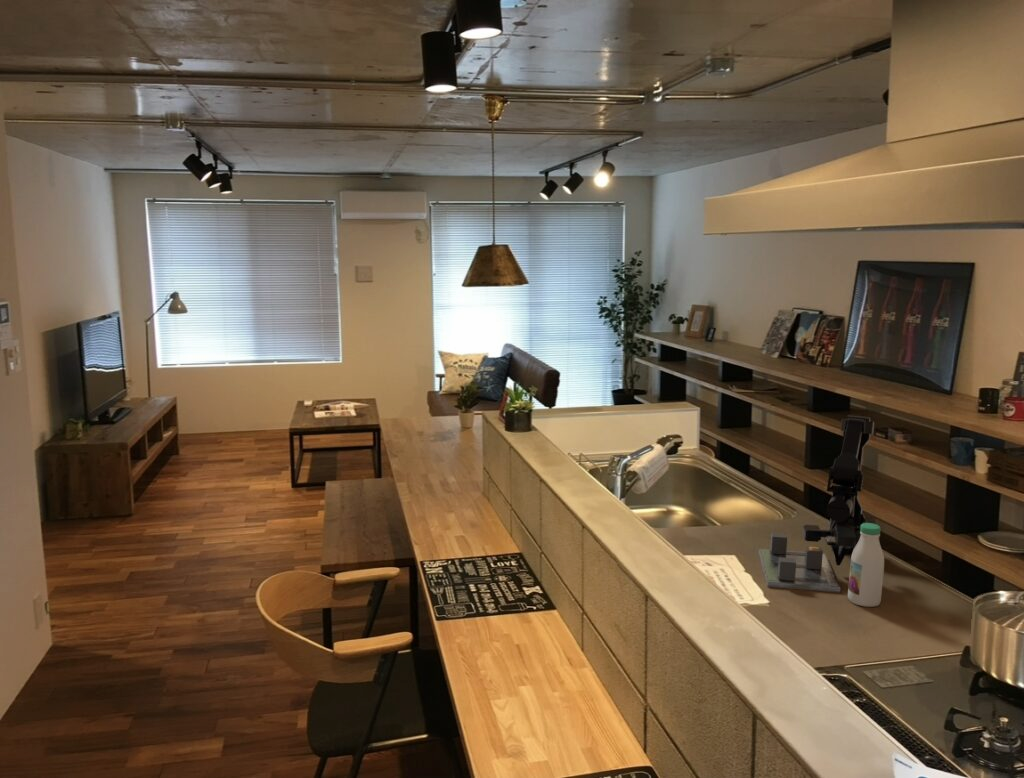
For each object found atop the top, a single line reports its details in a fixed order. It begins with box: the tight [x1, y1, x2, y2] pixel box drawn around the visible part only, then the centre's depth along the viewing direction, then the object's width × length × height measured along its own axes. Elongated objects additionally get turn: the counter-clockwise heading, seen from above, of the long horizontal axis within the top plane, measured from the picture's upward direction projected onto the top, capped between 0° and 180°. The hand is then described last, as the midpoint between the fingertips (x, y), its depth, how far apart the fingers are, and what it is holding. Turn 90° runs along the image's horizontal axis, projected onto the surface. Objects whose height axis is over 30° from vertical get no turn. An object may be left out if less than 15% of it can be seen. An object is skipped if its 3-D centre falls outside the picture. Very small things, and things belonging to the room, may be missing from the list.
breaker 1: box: [769, 532, 788, 554], centre depth 238 cm, size 4×3×5 cm
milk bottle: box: [847, 522, 885, 608], centre depth 209 cm, size 8×8×20 cm
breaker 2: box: [778, 557, 796, 581], centre depth 221 cm, size 4×3×5 cm
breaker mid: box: [804, 546, 824, 569], centre depth 228 cm, size 4×3×5 cm
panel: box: [758, 548, 841, 593], centre depth 229 cm, size 18×23×2 cm
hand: (837, 564), depth 227 cm, fingers closed
